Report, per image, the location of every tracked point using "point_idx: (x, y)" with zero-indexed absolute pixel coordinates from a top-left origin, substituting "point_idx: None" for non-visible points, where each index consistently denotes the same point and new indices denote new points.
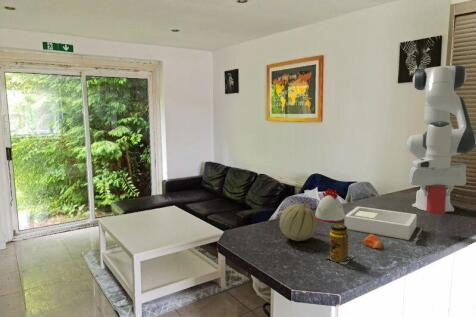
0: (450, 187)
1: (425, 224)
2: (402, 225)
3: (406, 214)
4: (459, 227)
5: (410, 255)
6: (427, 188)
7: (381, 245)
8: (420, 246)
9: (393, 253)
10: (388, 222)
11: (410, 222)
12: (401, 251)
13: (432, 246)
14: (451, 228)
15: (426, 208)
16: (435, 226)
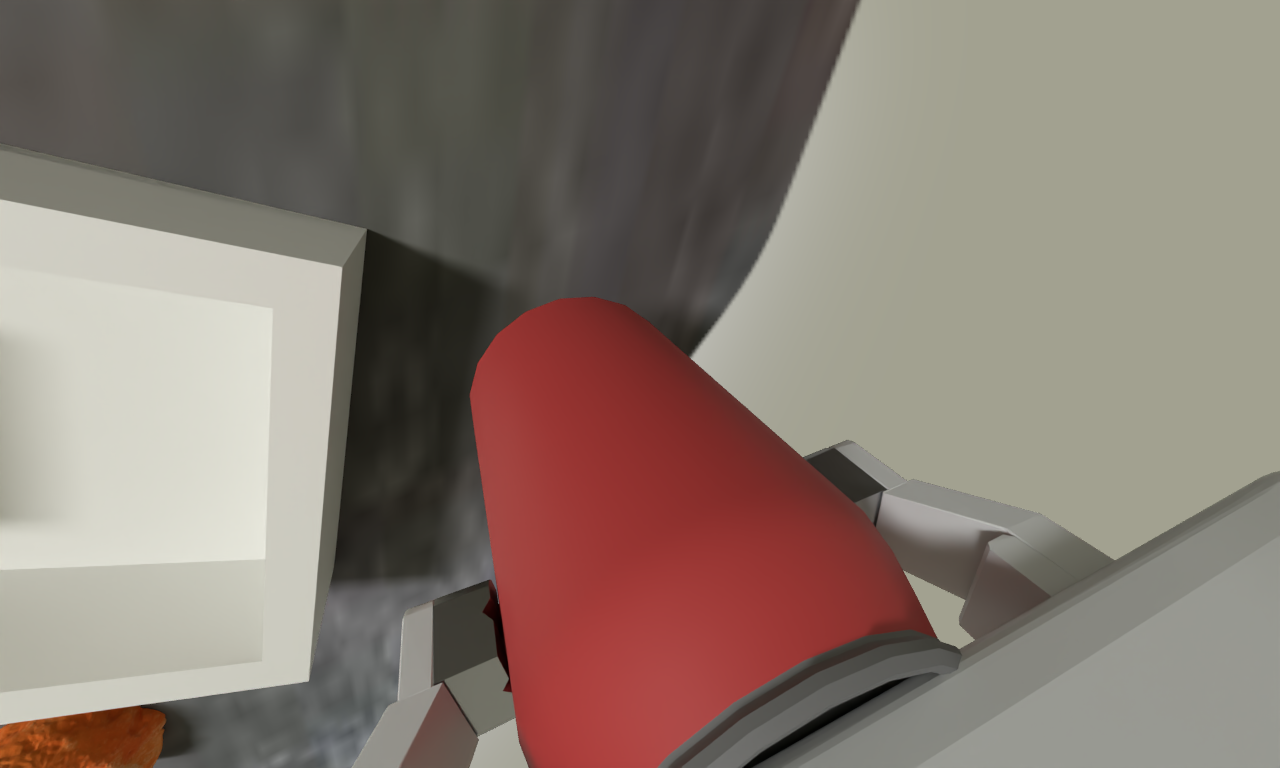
0: (976, 625)
1: (466, 5)
2: (239, 687)
3: (179, 292)
4: (760, 61)
5: (367, 708)
6: (521, 729)
7: (155, 757)
8: (417, 585)
9: (267, 739)
10: (47, 706)
11: (304, 596)
12: (309, 696)
13: (487, 553)
14: (688, 114)
15: (472, 412)
16: (564, 74)
